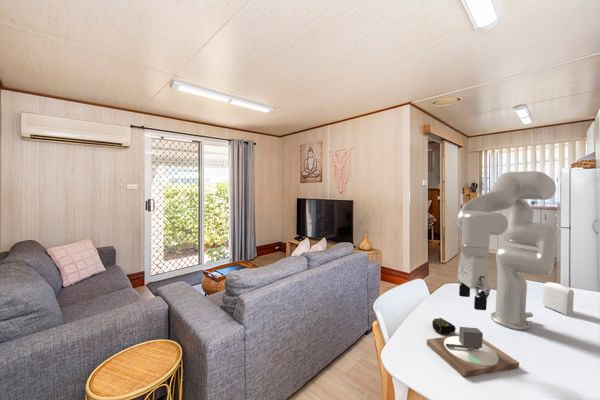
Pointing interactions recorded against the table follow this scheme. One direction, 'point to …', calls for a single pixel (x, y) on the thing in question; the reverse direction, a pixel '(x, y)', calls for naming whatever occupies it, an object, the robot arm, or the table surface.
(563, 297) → the photo printer
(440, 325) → the tape measure
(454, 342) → the dial face
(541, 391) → the table surface
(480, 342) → the grey mallet
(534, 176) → the robot arm
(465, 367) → the tuner board
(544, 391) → the table surface
